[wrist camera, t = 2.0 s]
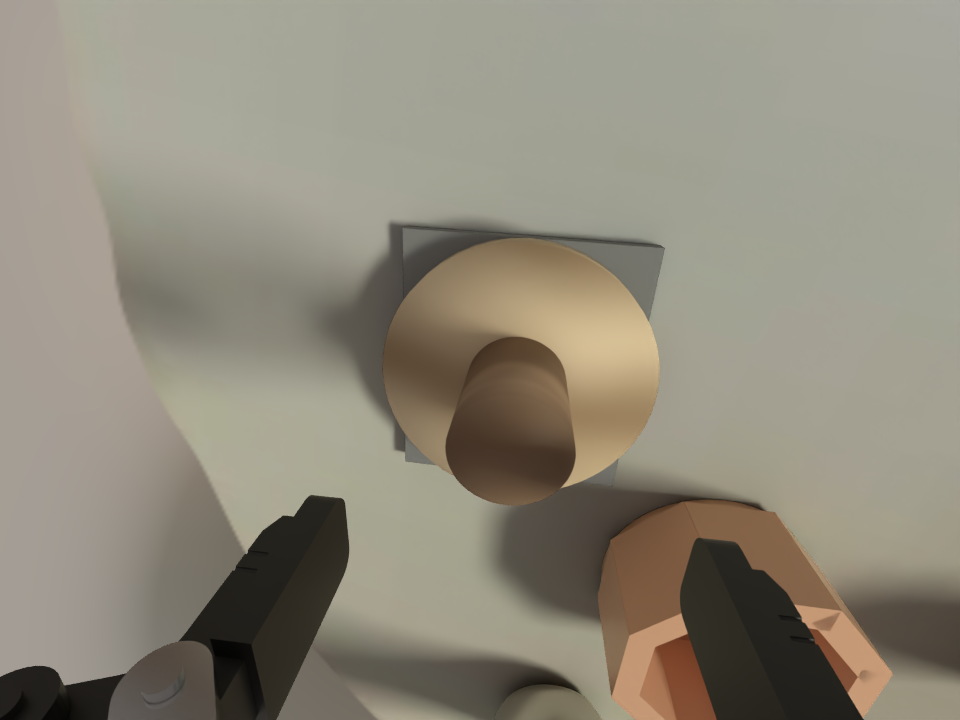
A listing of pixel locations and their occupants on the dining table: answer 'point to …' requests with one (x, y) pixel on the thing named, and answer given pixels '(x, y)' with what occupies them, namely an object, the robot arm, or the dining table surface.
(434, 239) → the mat
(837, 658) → the bowl
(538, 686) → the plastic bottle
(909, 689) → the dining table surface
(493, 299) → the lid
